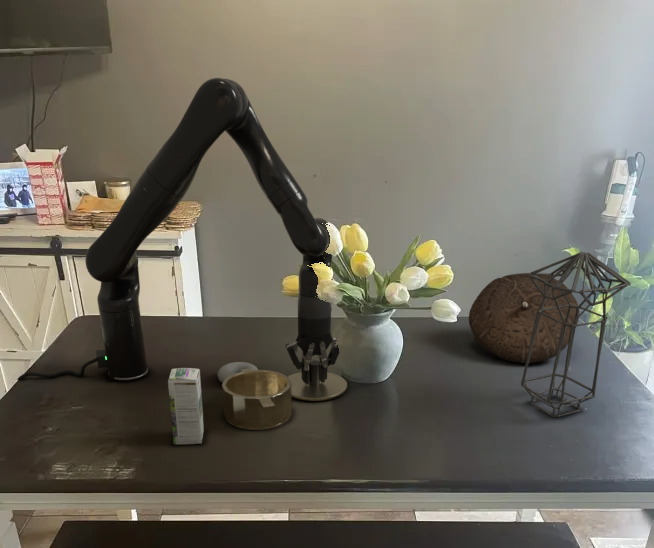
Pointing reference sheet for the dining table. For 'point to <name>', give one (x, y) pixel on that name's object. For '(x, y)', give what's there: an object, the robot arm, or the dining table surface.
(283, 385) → the pot
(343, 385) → the lid
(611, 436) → the dining table surface
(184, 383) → the syrup box
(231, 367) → the donut
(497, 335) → the brown fungus
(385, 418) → the dining table surface
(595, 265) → the geometric lantern
